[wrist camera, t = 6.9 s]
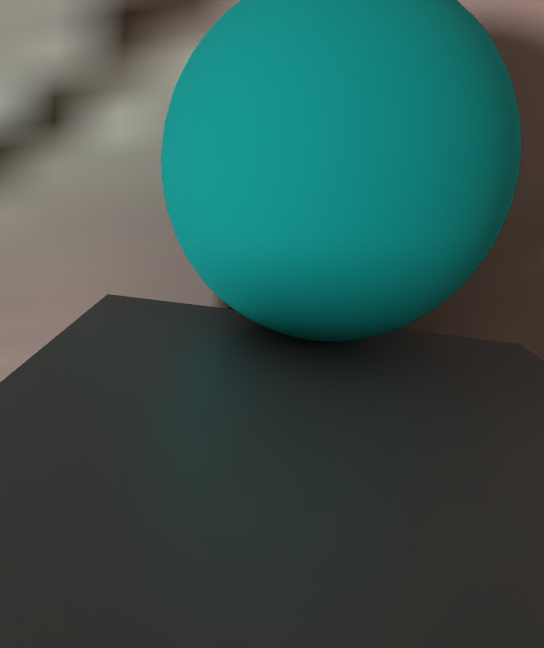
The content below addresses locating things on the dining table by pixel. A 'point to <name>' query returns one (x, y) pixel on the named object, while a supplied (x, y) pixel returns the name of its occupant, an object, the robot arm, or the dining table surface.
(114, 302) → the dark grey block
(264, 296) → the ball
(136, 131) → the dining table surface
